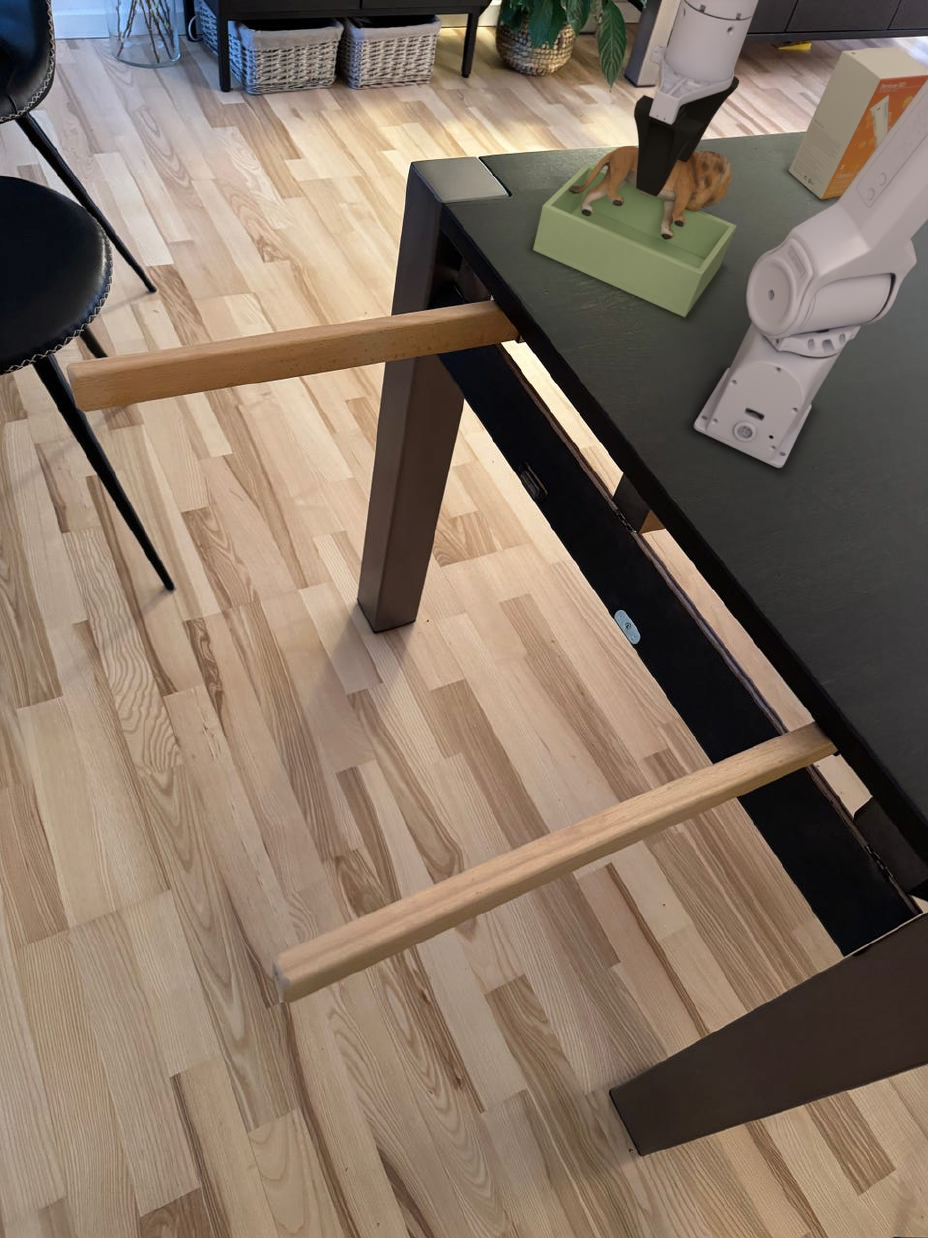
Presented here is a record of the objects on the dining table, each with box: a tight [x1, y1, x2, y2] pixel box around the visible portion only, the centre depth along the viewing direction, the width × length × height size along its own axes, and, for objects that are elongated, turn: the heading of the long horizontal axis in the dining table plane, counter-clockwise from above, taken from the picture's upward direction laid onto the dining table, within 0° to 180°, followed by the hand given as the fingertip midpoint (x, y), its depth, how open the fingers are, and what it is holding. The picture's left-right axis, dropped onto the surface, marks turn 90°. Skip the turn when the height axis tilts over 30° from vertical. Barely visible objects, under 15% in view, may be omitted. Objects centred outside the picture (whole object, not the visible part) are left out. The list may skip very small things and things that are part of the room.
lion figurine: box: [568, 145, 733, 240], centre depth 85 cm, size 15×5×9 cm
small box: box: [788, 46, 928, 200], centre depth 98 cm, size 8×6×13 cm
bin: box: [532, 162, 737, 318], centre depth 86 cm, size 10×16×5 cm, turn 61°
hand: (662, 173), depth 81 cm, fingers open, 7 cm apart
